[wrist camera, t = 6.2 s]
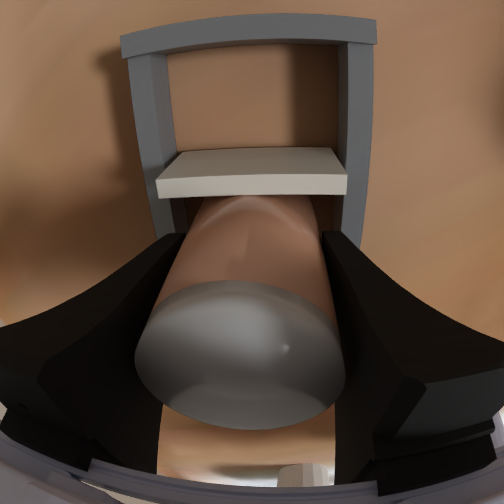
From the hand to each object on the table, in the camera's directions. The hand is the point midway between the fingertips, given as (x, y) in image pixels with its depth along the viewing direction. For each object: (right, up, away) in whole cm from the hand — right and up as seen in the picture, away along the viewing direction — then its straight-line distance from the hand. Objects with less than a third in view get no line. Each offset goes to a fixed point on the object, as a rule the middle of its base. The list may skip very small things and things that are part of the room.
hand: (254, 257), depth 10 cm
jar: (0, +1, +1) cm, 2 cm away
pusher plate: (0, +4, +1) cm, 4 cm away
